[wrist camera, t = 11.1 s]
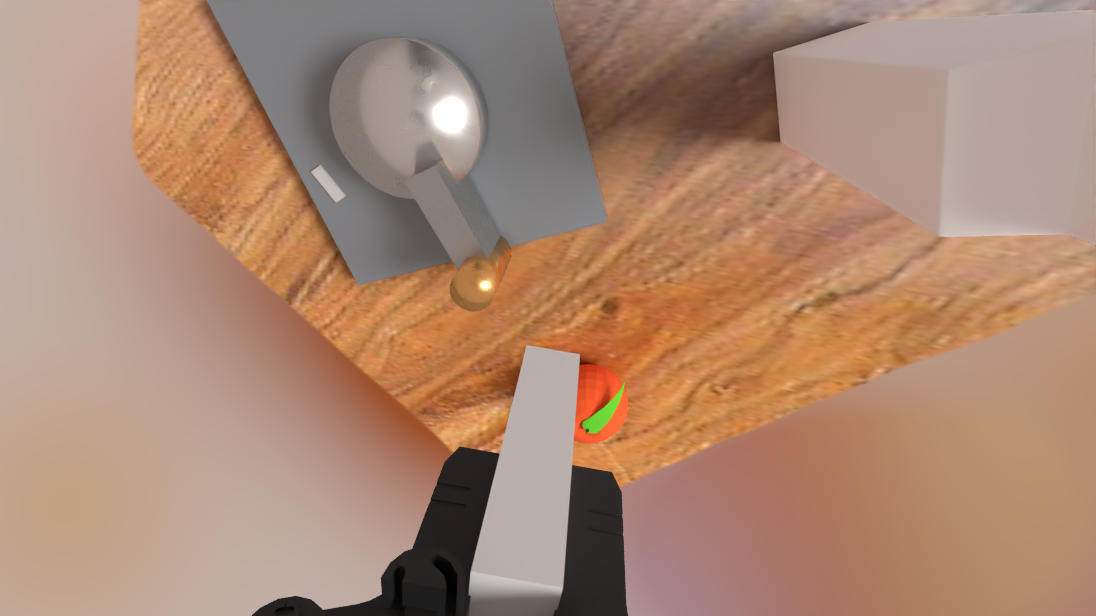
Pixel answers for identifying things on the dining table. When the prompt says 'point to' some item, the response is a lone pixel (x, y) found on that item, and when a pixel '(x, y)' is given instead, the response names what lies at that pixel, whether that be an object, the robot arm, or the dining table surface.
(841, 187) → the dining table surface
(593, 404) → the clementine
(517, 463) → the robot arm
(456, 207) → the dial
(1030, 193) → the milk
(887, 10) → the dining table surface
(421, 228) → the plate
